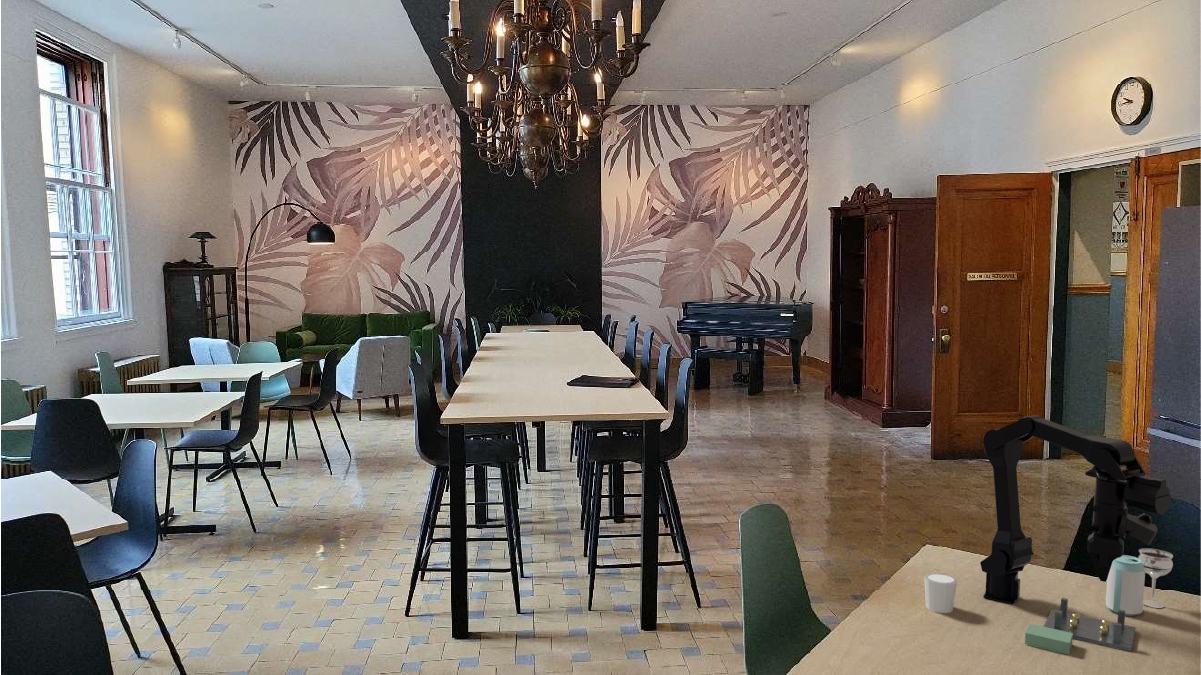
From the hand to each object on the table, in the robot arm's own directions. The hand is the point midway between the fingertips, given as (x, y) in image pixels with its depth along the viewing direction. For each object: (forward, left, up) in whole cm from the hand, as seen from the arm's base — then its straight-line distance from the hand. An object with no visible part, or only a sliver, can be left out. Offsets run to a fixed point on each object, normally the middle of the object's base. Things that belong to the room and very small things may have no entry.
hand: (1104, 574), depth 182 cm
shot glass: (-31, -5, -13) cm, 34 cm away
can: (+3, +18, -13) cm, 22 cm away
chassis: (-2, +1, -13) cm, 13 cm away
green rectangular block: (-8, -11, -14) cm, 20 cm away
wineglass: (+8, +26, -13) cm, 30 cm away
